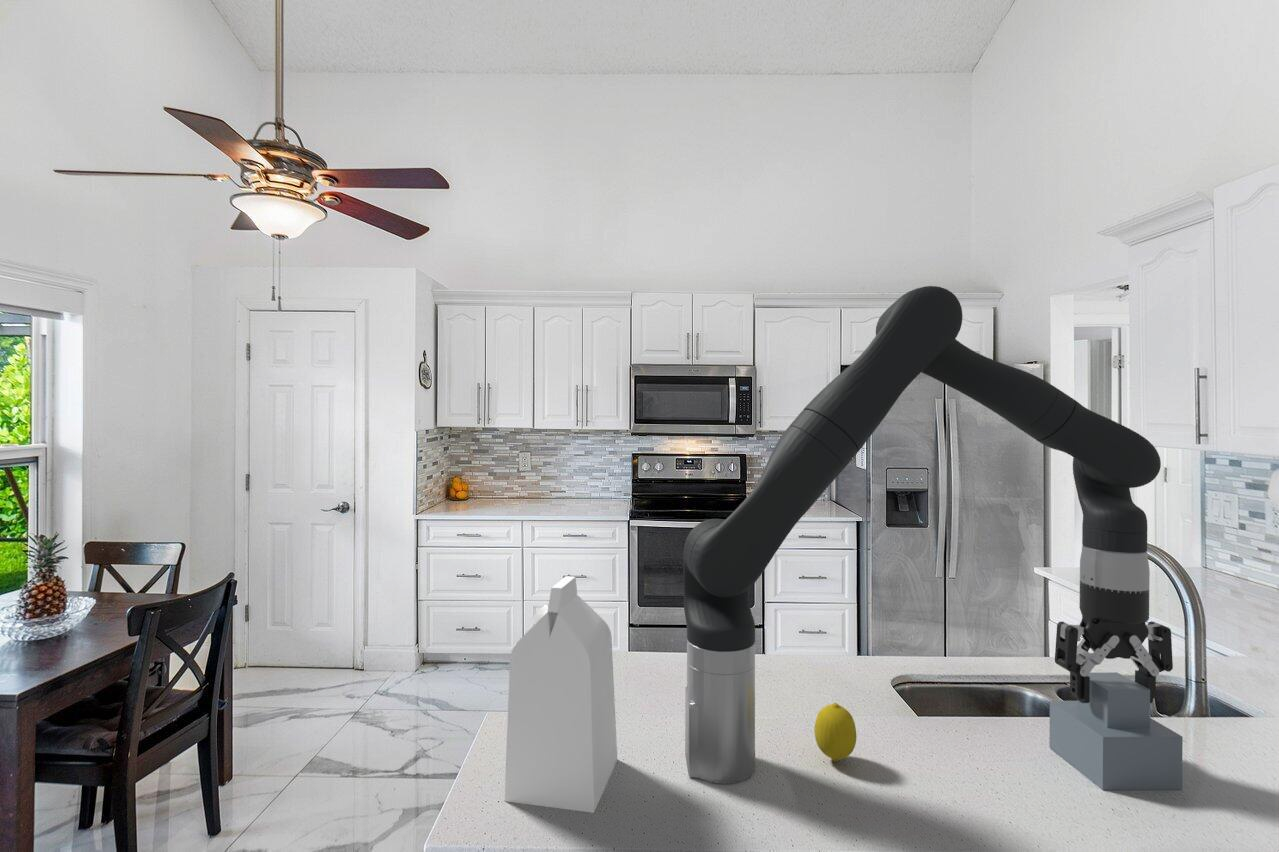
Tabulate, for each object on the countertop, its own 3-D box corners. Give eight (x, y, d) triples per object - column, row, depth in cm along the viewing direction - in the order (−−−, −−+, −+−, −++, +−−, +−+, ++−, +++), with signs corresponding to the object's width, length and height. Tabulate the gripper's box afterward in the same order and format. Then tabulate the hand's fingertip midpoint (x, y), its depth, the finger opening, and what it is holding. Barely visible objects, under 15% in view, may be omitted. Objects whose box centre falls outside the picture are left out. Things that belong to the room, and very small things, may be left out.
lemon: (859, 774, 83) (859, 714, 83) (815, 769, 84) (816, 710, 84) (853, 752, 89) (853, 696, 89) (813, 748, 90) (813, 693, 90)
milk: (594, 812, 75) (593, 597, 75) (504, 801, 78) (503, 592, 77) (617, 759, 87) (617, 573, 87) (539, 750, 89) (538, 569, 89)
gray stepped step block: (1102, 790, 80) (1103, 697, 80) (1049, 747, 90) (1050, 666, 90) (1182, 789, 80) (1182, 697, 80) (1119, 747, 90) (1120, 665, 90)
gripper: (1081, 589, 81) (1080, 714, 81) (1190, 588, 81) (1189, 713, 81) (1043, 574, 88) (1042, 689, 88) (1143, 574, 88) (1142, 688, 89)
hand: (1112, 700), depth 85 cm, fingers open, 8 cm apart
